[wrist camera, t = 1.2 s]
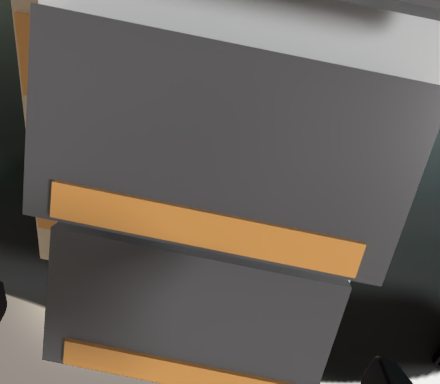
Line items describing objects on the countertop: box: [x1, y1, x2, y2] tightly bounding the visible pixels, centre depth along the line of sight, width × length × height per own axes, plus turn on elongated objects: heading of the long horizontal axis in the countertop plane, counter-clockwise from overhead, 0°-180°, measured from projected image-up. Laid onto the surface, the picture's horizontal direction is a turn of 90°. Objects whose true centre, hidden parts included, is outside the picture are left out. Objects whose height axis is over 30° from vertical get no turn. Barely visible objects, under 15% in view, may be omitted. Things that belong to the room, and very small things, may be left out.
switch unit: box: [11, 0, 440, 283], centre depth 15 cm, size 18×25×6 cm
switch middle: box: [22, 2, 440, 287], centre depth 12 cm, size 12×6×1 cm, turn 80°
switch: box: [42, 222, 352, 384], centre depth 16 cm, size 12×6×1 cm, turn 80°
